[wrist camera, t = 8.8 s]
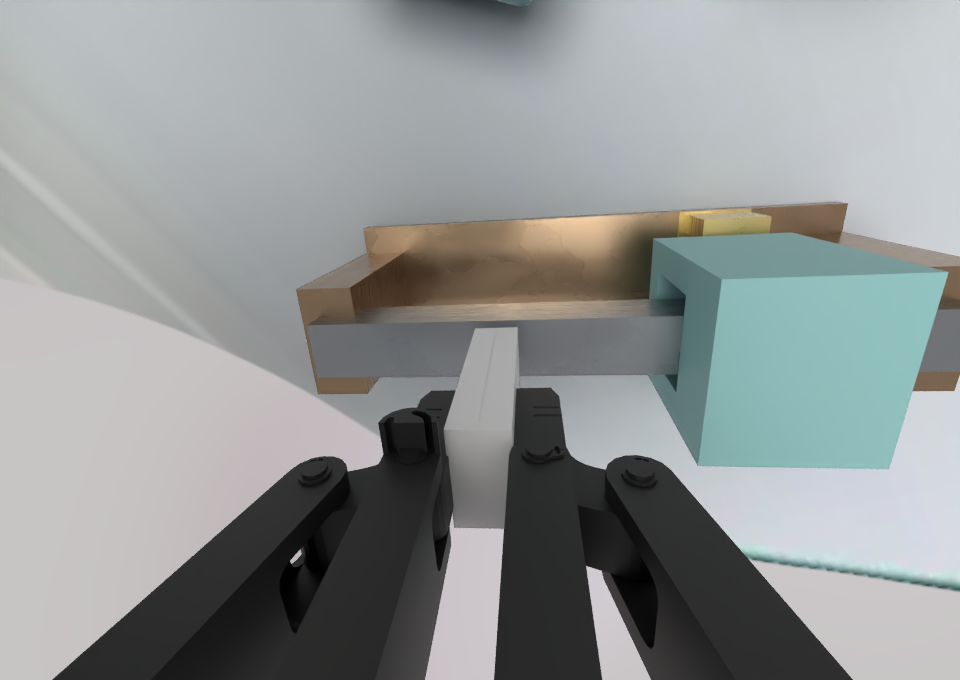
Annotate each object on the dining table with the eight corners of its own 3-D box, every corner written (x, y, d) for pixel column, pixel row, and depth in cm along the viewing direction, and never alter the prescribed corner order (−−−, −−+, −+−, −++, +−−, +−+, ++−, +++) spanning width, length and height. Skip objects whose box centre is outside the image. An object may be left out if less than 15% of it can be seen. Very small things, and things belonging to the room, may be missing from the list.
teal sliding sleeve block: (644, 367, 23) (698, 466, 16) (653, 238, 21) (721, 279, 13) (768, 366, 23) (888, 469, 15) (792, 232, 20) (948, 272, 13)
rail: (383, 350, 30) (314, 433, 21) (365, 227, 27) (276, 258, 18) (813, 342, 27) (964, 437, 17) (842, 202, 24) (1041, 224, 15)
